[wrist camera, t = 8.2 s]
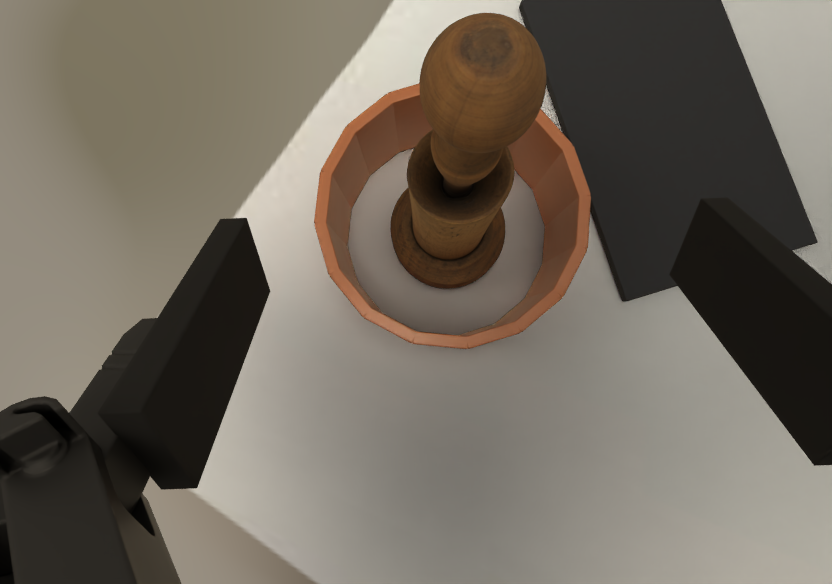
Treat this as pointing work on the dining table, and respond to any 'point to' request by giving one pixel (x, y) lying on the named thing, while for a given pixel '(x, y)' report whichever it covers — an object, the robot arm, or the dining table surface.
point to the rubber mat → (661, 126)
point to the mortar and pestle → (467, 148)
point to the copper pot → (533, 160)
